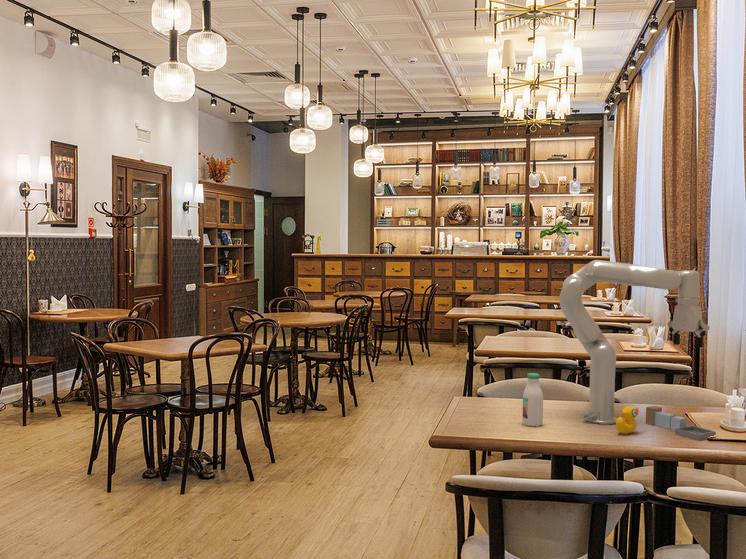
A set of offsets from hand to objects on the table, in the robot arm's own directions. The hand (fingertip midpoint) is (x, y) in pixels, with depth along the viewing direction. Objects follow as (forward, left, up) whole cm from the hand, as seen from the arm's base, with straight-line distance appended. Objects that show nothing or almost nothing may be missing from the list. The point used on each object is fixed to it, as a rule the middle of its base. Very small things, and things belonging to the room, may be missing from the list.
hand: (687, 345), depth 266 cm
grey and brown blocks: (-9, +4, -31) cm, 33 cm away
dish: (-10, -11, -31) cm, 35 cm away
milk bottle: (-53, +29, -32) cm, 68 cm away
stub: (-9, -3, -31) cm, 33 cm away
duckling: (-30, +3, -32) cm, 44 cm away
